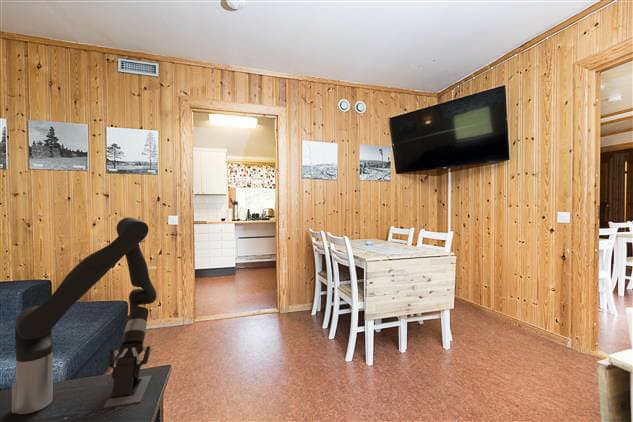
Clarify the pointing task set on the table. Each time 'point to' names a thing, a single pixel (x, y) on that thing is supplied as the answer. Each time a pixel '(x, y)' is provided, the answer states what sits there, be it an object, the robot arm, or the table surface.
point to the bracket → (130, 399)
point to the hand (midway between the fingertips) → (125, 377)
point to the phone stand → (125, 377)
